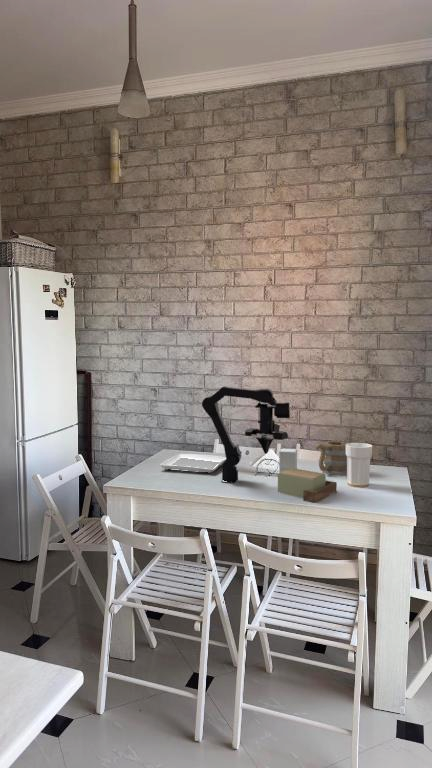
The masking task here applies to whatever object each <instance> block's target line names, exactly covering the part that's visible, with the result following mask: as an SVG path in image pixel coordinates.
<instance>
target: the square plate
mask: <svg viewBox="0 0 432 768" xmlns="http://www.w3.org/2000/svg"><path fill="white" fill-rule="evenodd" d="M180 458H188V459H195V460H204V461H212V462H220V463H219V464H217V465H216V466H215V467H214V468H213V469H207V468H199V467H191V466H177V465H172V464H173V463H175V462H176V461H177V460H179V459H180ZM225 460H226V456H220V455H209V454H195V453H193V454H192V453H177V454H176V455H174V456H172V457H170V458H168V459H166V460H164V461H163V462H162V463H160V464H159V466H160V467H161V468H162V469H164V468H166V469H165V470H168V469H179V470H188V471H198V472H208V473H207V474H210V473H213V472H214V471H216V470H217V469H218V468H219V467H220V466H222V463H223V462H224V461H225Z"/></svg>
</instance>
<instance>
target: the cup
mask: <svg viewBox="0 0 432 768" xmlns="http://www.w3.org/2000/svg"><path fill="white" fill-rule="evenodd" d="M346 443H347V444H346V456H347V475H346V479H347V480H346V484H347V485H348V486H351V487H354V488H366V487H369V484H370V471H371V457H372V456H373V445H372V444H370V443H366V442H365V443H364V442H346Z"/></svg>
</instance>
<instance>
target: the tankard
mask: <svg viewBox="0 0 432 768" xmlns="http://www.w3.org/2000/svg"><path fill="white" fill-rule="evenodd" d="M347 443H348V442H345V441H339V440H338V441H336V440H334V441H332V440H330V441H326V442H325V445H323V444H322V443H317V444H316V445H315V447H314V448H315V450H318V451H319V450H320V456H319V458H318V466H319V469H320V471H322V472H321V473H324V474H326V475H329V476H339V477H340V476H342V477H343V476H347V456H346V444H347Z"/></svg>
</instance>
